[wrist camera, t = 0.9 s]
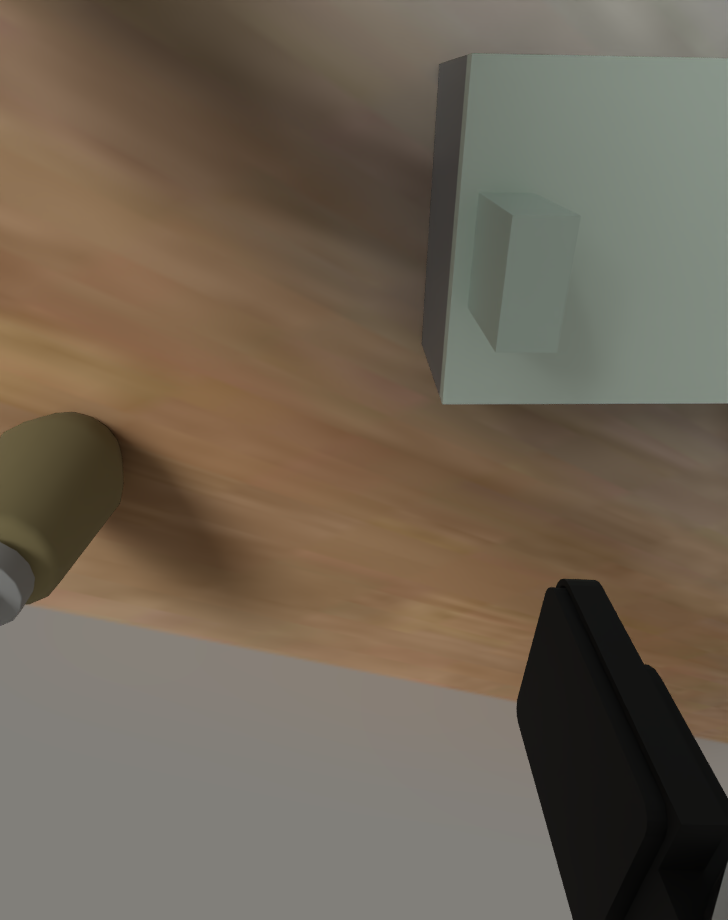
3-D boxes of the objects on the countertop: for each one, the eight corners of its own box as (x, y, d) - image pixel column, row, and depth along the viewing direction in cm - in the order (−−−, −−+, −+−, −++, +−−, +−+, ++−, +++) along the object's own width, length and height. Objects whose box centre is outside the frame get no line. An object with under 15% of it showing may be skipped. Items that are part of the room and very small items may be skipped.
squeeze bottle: (85, 517, 45) (-47, 737, 30) (-10, 440, 42) (-216, 643, 26) (164, 457, 43) (66, 661, 27) (70, 371, 40) (-102, 547, 24)
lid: (464, 55, 26) (508, 41, 19) (979, 65, 26) (1190, 54, 20) (437, 391, 33) (462, 463, 27) (839, 390, 34) (959, 460, 27)
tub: (439, 63, 32) (467, 54, 25) (854, 71, 33) (992, 64, 26) (421, 343, 40) (439, 396, 33) (759, 344, 40) (847, 395, 34)
